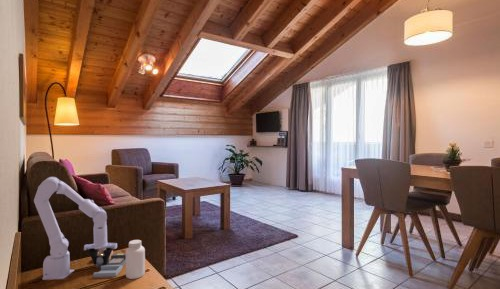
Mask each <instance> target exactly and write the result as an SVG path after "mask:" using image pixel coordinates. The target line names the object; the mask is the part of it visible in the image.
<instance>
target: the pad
mask: <svg viewBox="0 0 500 289" xmlns="http://www.w3.org/2000/svg"><path fill="white" fill-rule="evenodd" d="M123 261H124V258H113V259H112V260H111V261H110V262H109V265H112V264H121V263H122V262H123Z"/></svg>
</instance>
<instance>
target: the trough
mask: <svg viewBox="0 0 500 289" xmlns="http://www.w3.org/2000/svg"><path fill="white" fill-rule="evenodd" d="M123 268H124V266H123V265H109V266H101V268H100V270H99V271H98V272H97V271H96V272H93V275H92V276H93V279H94V278H95V279H96V278H105V277H108V278H116V277H117V276H118V274H120V272H121V271H122V270H123Z"/></svg>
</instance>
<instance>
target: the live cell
mask: <svg viewBox="0 0 500 289" xmlns="http://www.w3.org/2000/svg"><path fill="white" fill-rule="evenodd" d="M104 265H105V256H104V254H99V255H97V256H96V265H95V267H96V269H101V266H104Z"/></svg>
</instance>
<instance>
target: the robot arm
mask: <svg viewBox="0 0 500 289" xmlns="http://www.w3.org/2000/svg"><path fill="white" fill-rule="evenodd" d="M55 192H56V194H57V195H64V196H66V197H67V198H68V199H70V200H71V201H73V202H74V203H76V204H77V205H78V210H79V211H81V212H82V213H84V214H85V215H86V216H88V217H89V218H91V219H92V222H93V228H92V229H93V243H89V244H84V246H83V251H87V250H88V252H87V253H88V255H89V256H90V258H91V260H92V263H93V265H94V266H96V256H97V255H98V252H99V249H105V250H104V251H103V252H104V256H105V264H108V263H109V260H110V259H109V257H110V254H111V252H112V250H113V251H114V250H116V249H117V248H118V243H117V242H108V225H107V223H108V222H107V220H108V215H107V211H106V210H105V209H104V208H102V206H98V205H97V204H96V203H95V201H94V200H93V199H90V198H83V197H82V196H81V195H80V194H79V193H77V191H75V190H74V189H73V188H72V187H71V186H70V185H68V184H67V183H66V182H64V181H62V180H60V179H59V178H58V177H56V176H49V177H47V178H46V179H44V180H43V181H42V182H41V183H40V185H38V186H37V190H36V193H35V196H34V199H33V203H34V204H35V209H36V211H37V213H38V215H39V218H40V220H41V222H42V225H43V229H44V231H45V232H46V235H47V237H48V242H49V246H50V250H49V254H50V255H47V256H46V257H45V258H44V260H43V264H42V271H43V272H42V274H43V275H42V280H43V281H45V280H64V279H66V278H67V277H68V276H70V275H71V274H73V272H75V269H71V268H70V267H71V263H70V262H71V258H70V251H69V250H68V247H69V245H70V242H69V240H68V239H67V238H65V235H64V234H63V232H61V229H60V227H59V223H58V220H57V219H56V216H55V213H54V211H53V209H52V206H51V203H50V201H49V199H50V198H51V196H52V195H53V194H54V193H55Z"/></svg>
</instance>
